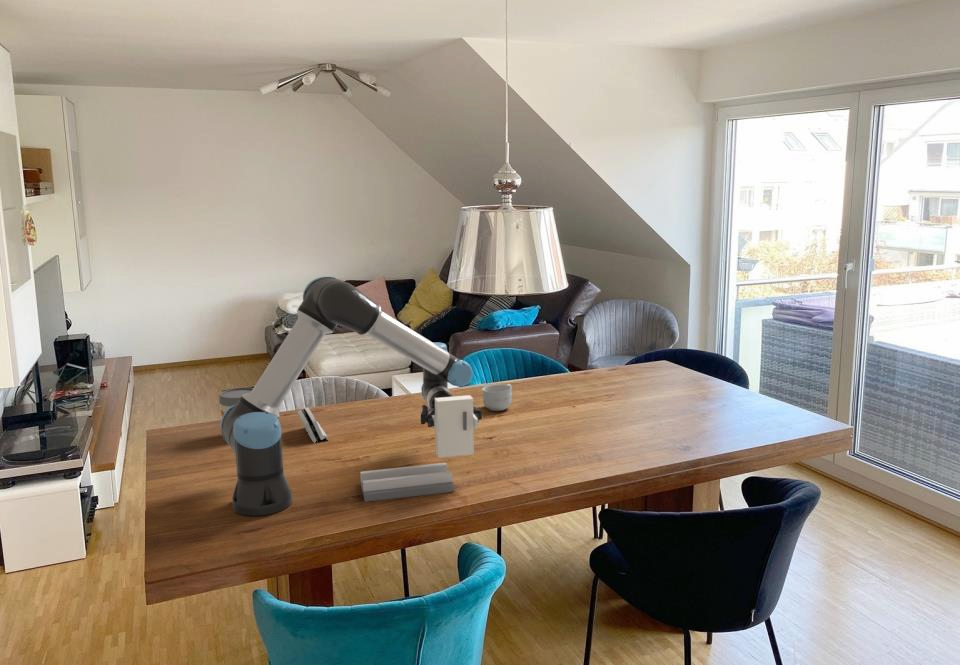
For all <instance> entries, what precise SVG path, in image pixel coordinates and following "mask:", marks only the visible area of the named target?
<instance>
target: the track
mask: <svg viewBox="0 0 960 665" xmlns="http://www.w3.org/2000/svg"><path fill="white" fill-rule="evenodd" d="M359 476H360V477H359V484H360V488H361V492H362V497H363V499H364V500H363V501H364V502H365V503H369V502H374V501H375V502H376V501H384V500H392V499H401V498H411V497H419V496H428V495H435V494H445V493H454V492H455V488H454V487H455V485H454V482H453V472H452V470H451V471H450V470H449V471H448V464H447V462H440V463H439V462H438V463H429V464H419V465H411V466H402V467H401V466H400V467H393V468H391V467H390V468H383V469H382V468H381V469H373V470H365V471H363V470H362V471H360V475H359Z"/></svg>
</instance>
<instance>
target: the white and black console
mask: <svg viewBox="0 0 960 665" xmlns="http://www.w3.org/2000/svg"><path fill="white" fill-rule="evenodd" d="M297 414H298V416H299V419H300V421H301V423H302V425H303V428H304V427H305V428H304V429H305V431H306V433H307V432H308V433H307V434H308V436H309V438H310V439H311V441H312V443H313V442H316V441H317V442H318V441H320V440H321V441H323V440H324V439H325V440H326V441H327V440H328V439H329V436H328V435H327V434H326V432H325V431H324V429H323V428H322V426H321V425H320V423H319V421H317V419H316V418H315V416H314V415H313V412H312V411H311V410H310V408H309V406H308V407H303V409H300V410H298V411H297Z"/></svg>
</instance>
